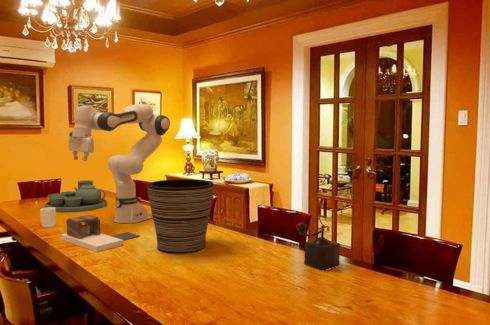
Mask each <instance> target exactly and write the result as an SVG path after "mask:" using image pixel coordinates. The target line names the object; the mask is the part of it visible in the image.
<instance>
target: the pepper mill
mask: <svg viewBox="0 0 490 325" xmlns="http://www.w3.org/2000/svg"><path fill="white" fill-rule="evenodd" d="M306 228H307V225H306V223H304V222H299V223H297V225H296V229H297V230H298V234H299V236H300V235H301V236H304V237H308V238H311V237H315V238H312V239H310V240H308V241H307V240H306V241H304V262H303V264H304V265H306V266H307V267H310V268H313V269H315V268H316V270H318V269H319V271H322V270H324V271H327V270H326V269H328V270H330V269H329V268H331V269H333V268H332V267H334V268H336V267H335V266H337V267H338V265H339V266H340V252H341V251H340V249H341V248H340V246H341V244H340V243H338V242H336V241H333V240H329V239H328V238H325V237H324V234H325V225H323V224H322V225H321V227H320V230H319V231H317V232H315V233H311V234H309V233H308V234H307V232H306ZM319 234H321V236H320V237H318V235H319Z"/></svg>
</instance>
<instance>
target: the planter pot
mask: <svg viewBox="0 0 490 325" xmlns="http://www.w3.org/2000/svg"><path fill="white" fill-rule="evenodd" d="M214 187H215V183H214V182H213V181H210V180H206V179H204V180H203V179H196V178H195V179H193V178H192V179H190V178H189V179H187V178H186V179H185V178H183V179H179V178H177V179H162V180H161V179H160V180H156V181H152V182H149V183H147V194H148V202H149V206H150V211H151V216H152V220H153V225H154V230H155V237H156V244H157V246H156V247H157V250H158V251H159V252H162V253H165V254H171V255H186V254H192V253H193V254H194V253H197V252H200V251H202V250H204V249H205V248H206V247H207V246H206V245H207V244H206V242H207V240H206V239H207V231H208V225H209V220H210V215H211V210H212V204H213V198H214V191H215V190H214Z"/></svg>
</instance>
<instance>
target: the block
mask: <svg viewBox="0 0 490 325" xmlns="http://www.w3.org/2000/svg"><path fill="white" fill-rule="evenodd" d="M88 235H90V230H89V226H88V225H85V224H82V236H83V237H84V236H88Z"/></svg>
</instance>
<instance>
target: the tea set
mask: <svg viewBox="0 0 490 325" xmlns="http://www.w3.org/2000/svg"><path fill="white" fill-rule="evenodd" d="M76 182H77V187H76V186H74V190H75V191H74V190H71V191H70V190H69V191H62V192H59V193H51V194H48V195H47V198H48V201H46V203H44V208H47V207H54V208H56V213H77V212H79V213H81V212H88V211H94V210H97V209H98V210H99V209H102V208H104V207H105V206H107V204H108V203H107V202H108V201H107V199H105V198H106V196H107V194H106V191H105V190H104V189H103V188H99V189H98V188H97V187H96V185H94V180H92V179H86V180H85V179H84V180H83V179H82V180H77V181H76ZM102 193H103V197H102Z"/></svg>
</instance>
